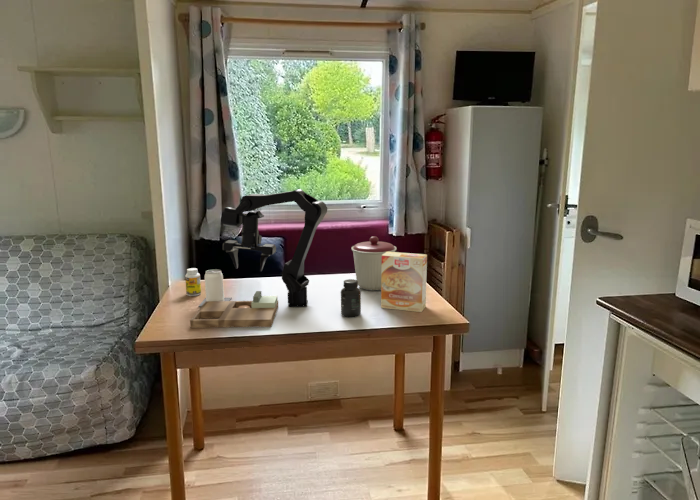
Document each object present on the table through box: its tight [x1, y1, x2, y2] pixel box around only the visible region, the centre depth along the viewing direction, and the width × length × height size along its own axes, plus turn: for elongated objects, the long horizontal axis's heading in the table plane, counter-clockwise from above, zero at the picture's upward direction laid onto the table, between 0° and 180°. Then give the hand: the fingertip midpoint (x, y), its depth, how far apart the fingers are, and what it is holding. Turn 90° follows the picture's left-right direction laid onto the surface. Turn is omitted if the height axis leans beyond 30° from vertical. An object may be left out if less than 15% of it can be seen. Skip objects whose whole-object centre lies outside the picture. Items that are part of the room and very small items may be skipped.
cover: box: [251, 290, 279, 308], centre depth 184 cm, size 8×8×4 cm
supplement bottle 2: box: [340, 278, 362, 318], centre depth 180 cm, size 7×7×12 cm
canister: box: [350, 236, 398, 291], centre depth 211 cm, size 18×18×21 cm
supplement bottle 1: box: [184, 267, 202, 297], centre depth 204 cm, size 6×6×10 cm
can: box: [204, 268, 225, 301], centre depth 192 cm, size 6×6×12 cm
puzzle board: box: [189, 300, 279, 329], centre depth 179 cm, size 26×20×2 cm
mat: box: [198, 297, 233, 308], centre depth 195 cm, size 10×10×1 cm
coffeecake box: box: [380, 251, 428, 313], centre depth 186 cm, size 15×7×20 cm, turn 70°
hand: (248, 269), depth 195 cm, fingers open, 9 cm apart
